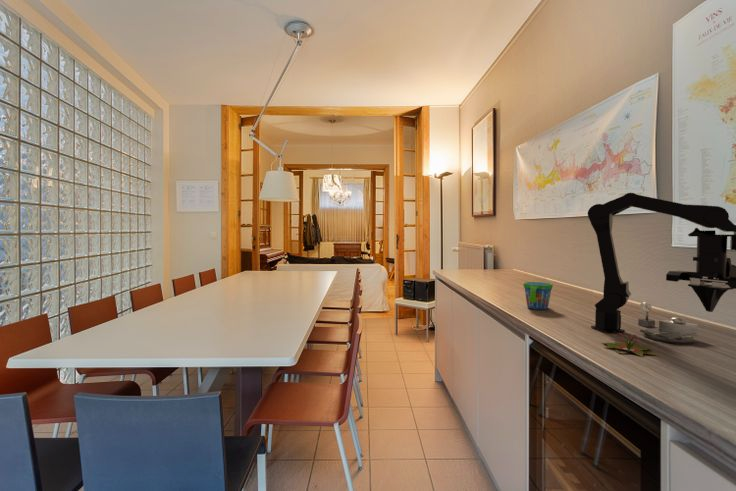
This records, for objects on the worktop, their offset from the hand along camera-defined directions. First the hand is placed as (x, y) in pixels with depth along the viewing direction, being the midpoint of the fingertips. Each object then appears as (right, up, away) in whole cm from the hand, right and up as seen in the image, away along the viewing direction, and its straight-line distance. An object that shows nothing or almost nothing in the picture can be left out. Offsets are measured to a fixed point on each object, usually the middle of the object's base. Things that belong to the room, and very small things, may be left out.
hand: (709, 311), depth 93 cm
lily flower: (-24, -10, -3) cm, 26 cm away
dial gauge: (0, -9, +21) cm, 22 cm away
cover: (-2, -7, +8) cm, 11 cm away
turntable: (-5, -9, +7) cm, 13 cm away
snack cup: (-23, -8, +47) cm, 53 cm away
